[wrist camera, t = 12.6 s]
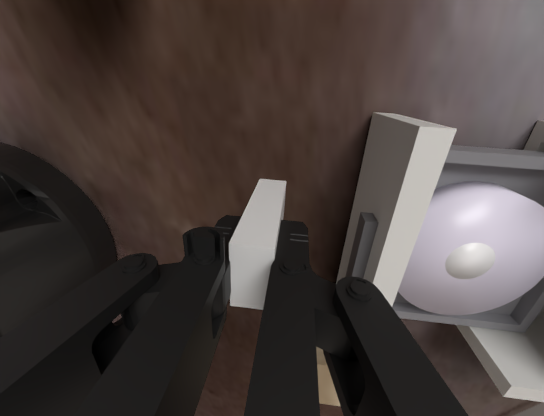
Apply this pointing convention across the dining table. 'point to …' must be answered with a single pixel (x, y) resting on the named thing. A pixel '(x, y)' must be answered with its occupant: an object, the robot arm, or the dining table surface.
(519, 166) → the tray
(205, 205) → the dining table surface
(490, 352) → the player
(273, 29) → the dining table surface
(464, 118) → the dining table surface
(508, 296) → the lid
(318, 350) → the beige block
